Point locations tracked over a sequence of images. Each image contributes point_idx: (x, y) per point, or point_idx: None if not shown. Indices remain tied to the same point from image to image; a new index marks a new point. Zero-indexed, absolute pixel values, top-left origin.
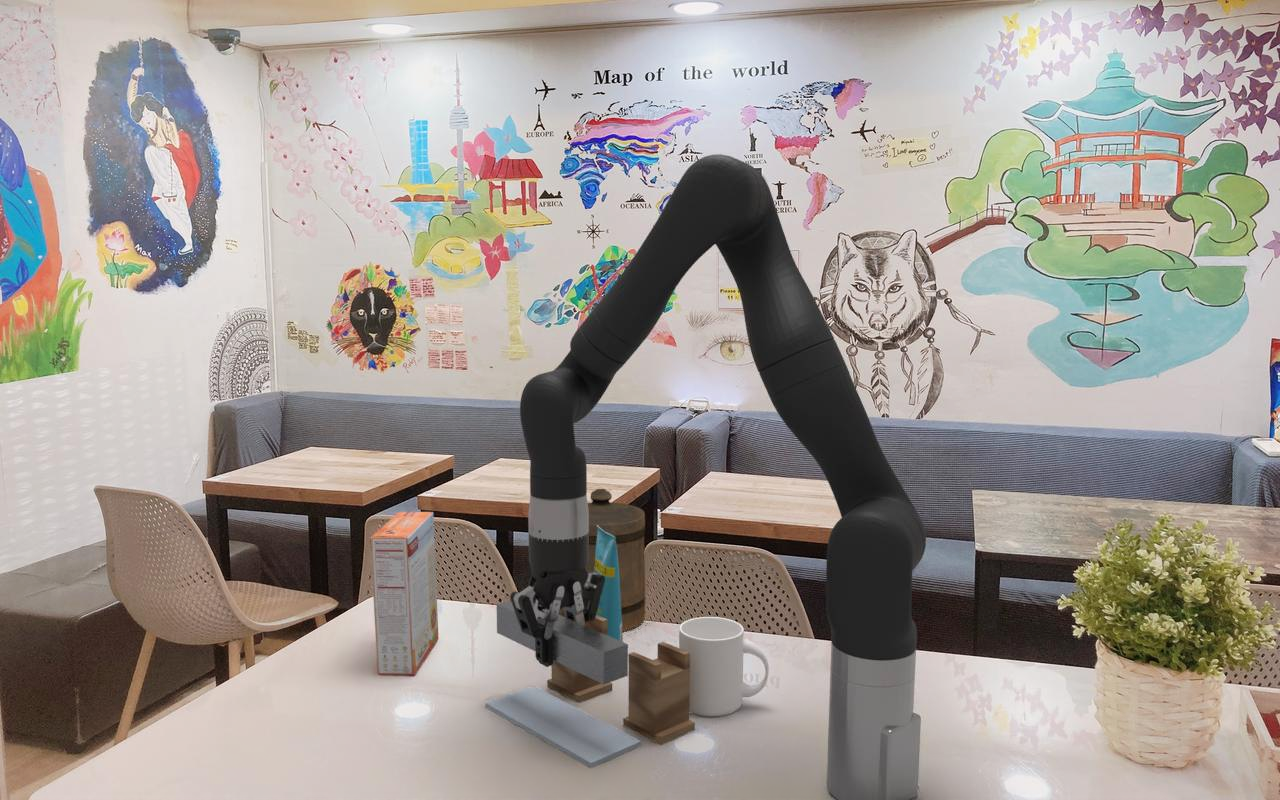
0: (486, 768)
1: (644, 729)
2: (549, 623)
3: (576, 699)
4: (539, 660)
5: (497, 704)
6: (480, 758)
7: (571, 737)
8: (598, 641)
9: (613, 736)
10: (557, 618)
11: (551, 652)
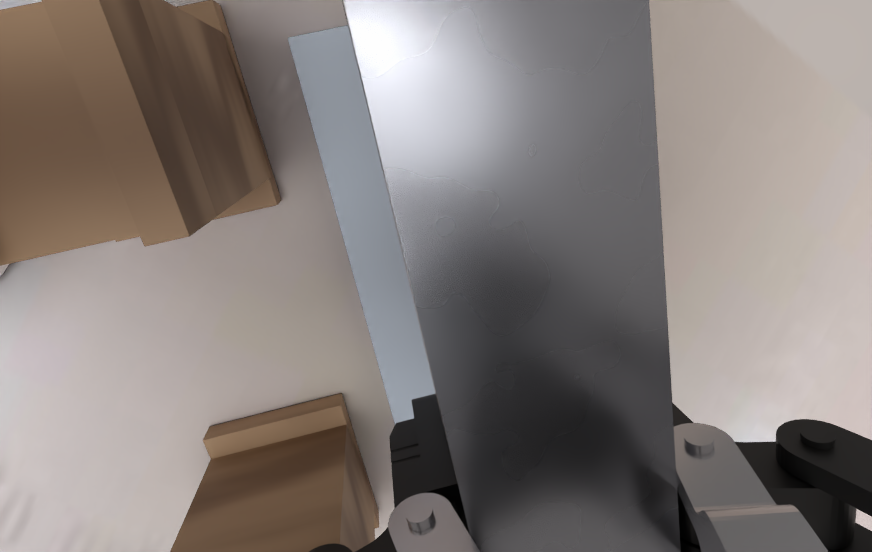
0: (735, 163)
1: (242, 93)
2: (740, 500)
3: (344, 407)
4: None
5: None
6: (718, 222)
7: None
8: (529, 91)
9: (357, 122)
10: (713, 517)
11: None
